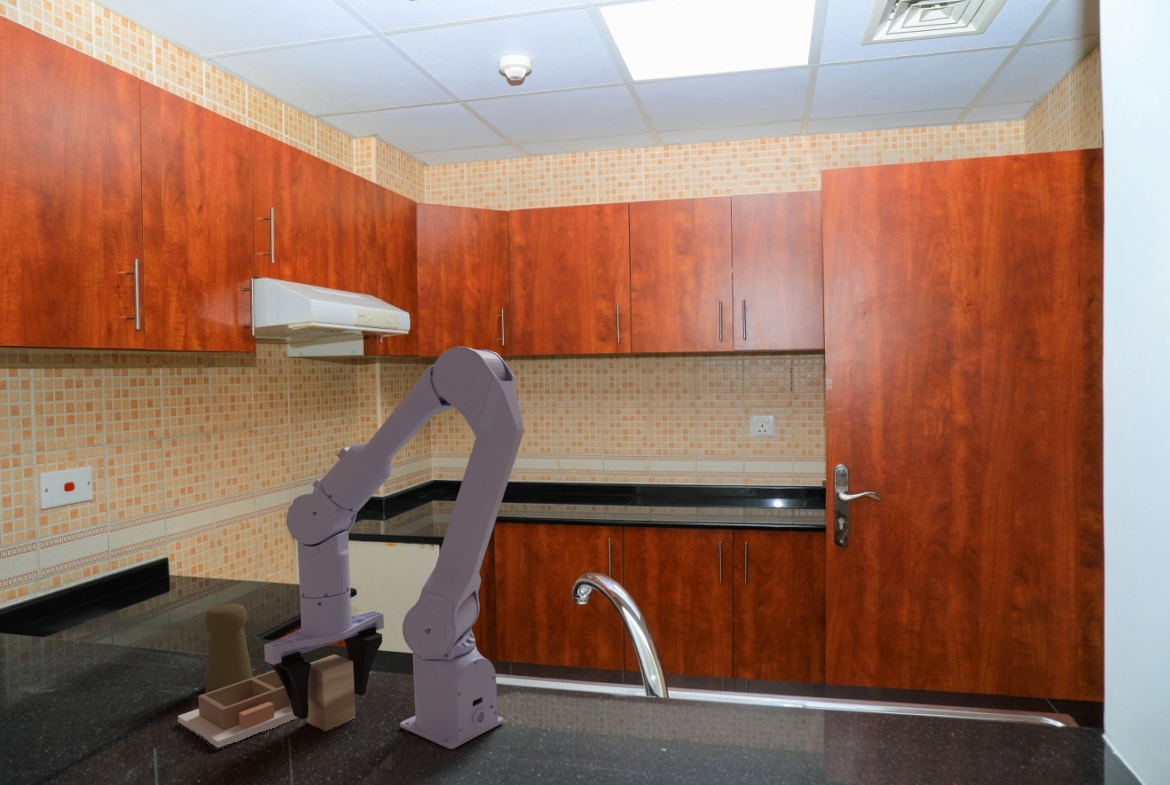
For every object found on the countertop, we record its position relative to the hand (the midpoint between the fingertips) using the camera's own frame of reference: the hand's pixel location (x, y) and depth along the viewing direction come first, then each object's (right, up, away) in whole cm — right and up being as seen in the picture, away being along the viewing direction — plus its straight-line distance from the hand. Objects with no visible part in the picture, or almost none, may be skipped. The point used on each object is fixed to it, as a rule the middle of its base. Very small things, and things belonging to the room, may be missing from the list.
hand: (330, 704), depth 87 cm
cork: (-18, -3, +12) cm, 22 cm away
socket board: (-9, -2, +3) cm, 10 cm away
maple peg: (0, -2, 0) cm, 2 cm away
